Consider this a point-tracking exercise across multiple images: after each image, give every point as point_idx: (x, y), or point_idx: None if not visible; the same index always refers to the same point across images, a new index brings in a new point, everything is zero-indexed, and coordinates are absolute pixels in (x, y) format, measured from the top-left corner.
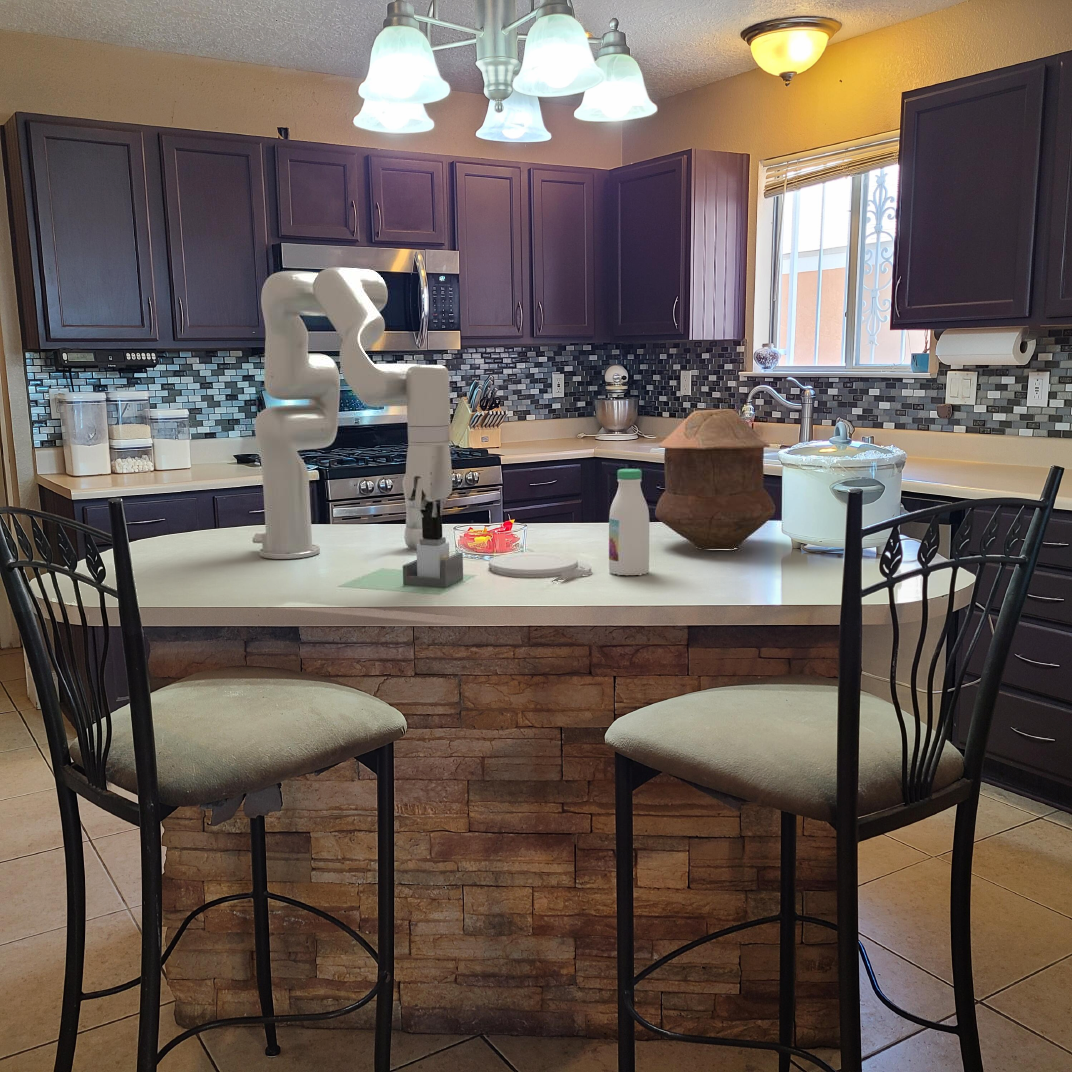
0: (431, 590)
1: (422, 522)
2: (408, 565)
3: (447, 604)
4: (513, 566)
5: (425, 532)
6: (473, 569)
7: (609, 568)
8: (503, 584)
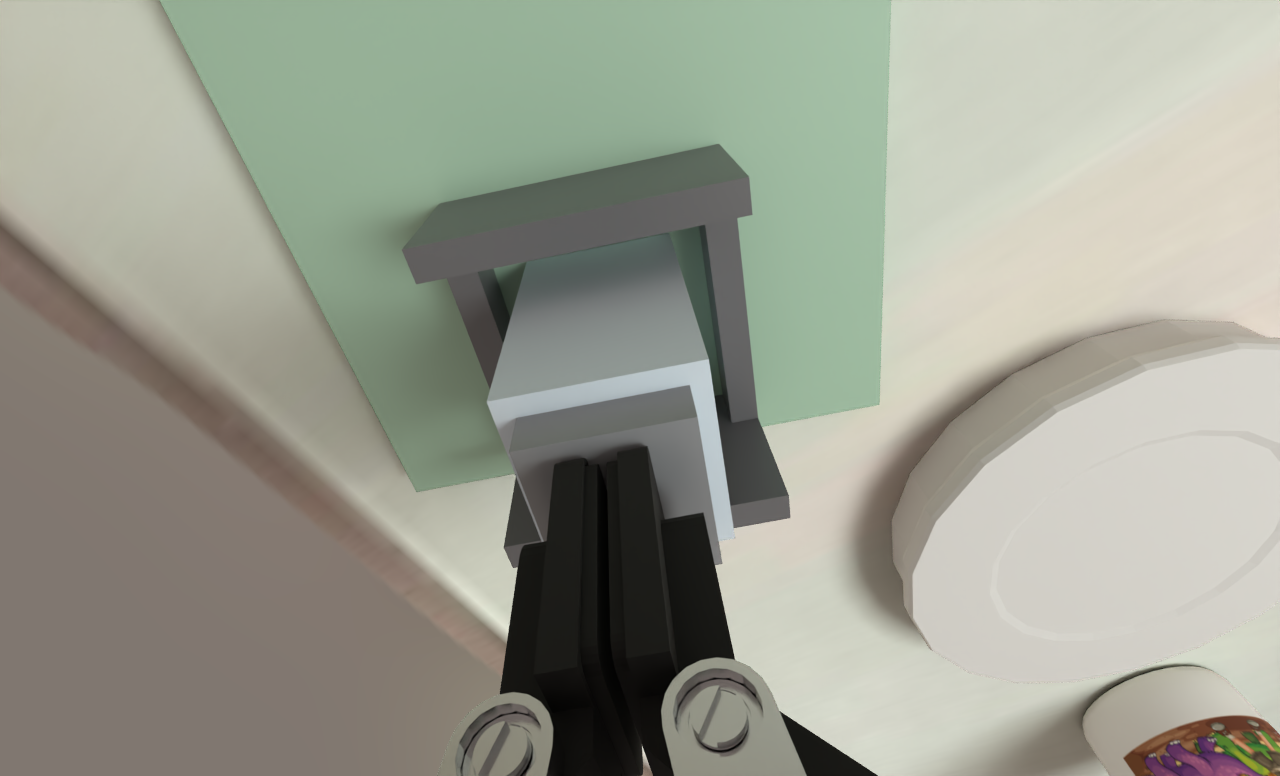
0: (449, 422)
1: (545, 601)
2: (450, 275)
3: (407, 521)
4: (970, 551)
5: (523, 560)
6: (1195, 183)
7: (1142, 692)
8: (847, 504)
